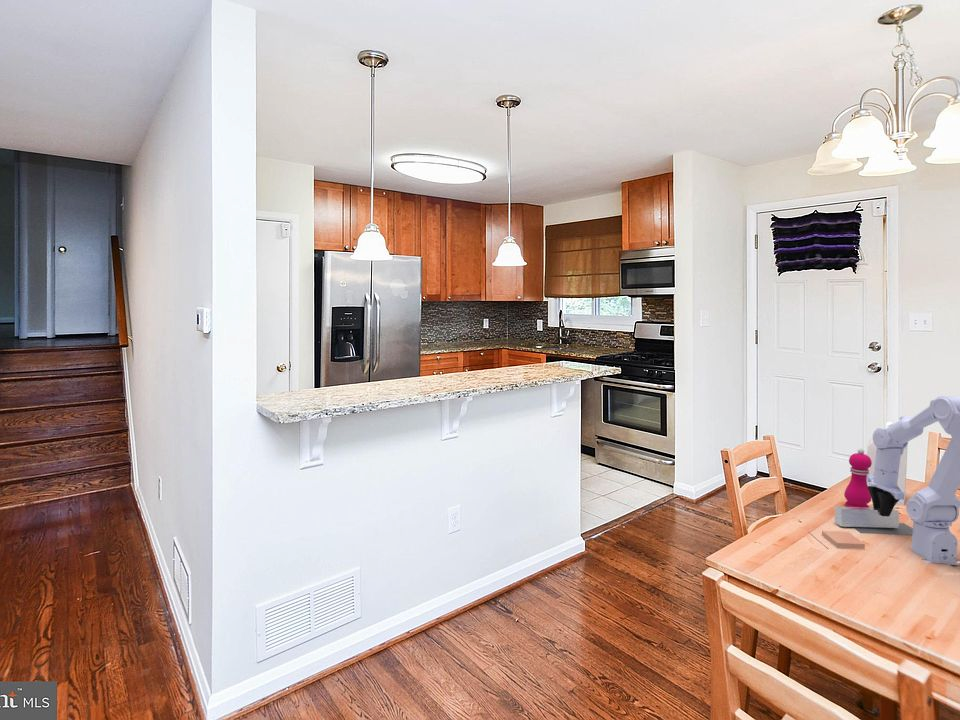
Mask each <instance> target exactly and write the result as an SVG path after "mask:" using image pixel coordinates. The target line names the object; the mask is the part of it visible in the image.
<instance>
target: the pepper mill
mask: <svg viewBox="0 0 960 720" xmlns="http://www.w3.org/2000/svg"><path fill="white" fill-rule="evenodd" d="M848 462H849V463H848V464H849V465H850V466H851V467H850V468H849V469H850V471H849V472H850V473H851V478H850V481H849V483H848V485H847V486H846V488H845V490H844V494H843V495H844V498H845V500H846V501H845V504H844V505H845V506H844V507H870V506H869V504H870V502H872V501H871V495H870V492H869V490H868V489H867V487H868V486H867V481H866V479H867V475H868V474H869V470H868V468H869V467H871V464H872V461H871V459H870V457H869V456H867V454H865V450H864V449H863V448H859V449H857V452H856V453H853V454H851V455H850V456H849V457H848Z"/></svg>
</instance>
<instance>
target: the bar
mask: <svg viewBox="0 0 960 720" xmlns="http://www.w3.org/2000/svg"><path fill="white" fill-rule="evenodd" d="M899 511H900V510H899V509H894V508H893V510H892V512H891V514H890V516H881V514H880V508H873V507H870V506H869V507H846V506H834V524H836V525H837V526H840V527H845V528H847V527H849V528H851V527H852V528H853V527H880V528H899V523H900V521H899V519H900V517H899V515H900V514H899V513H900V512H899Z"/></svg>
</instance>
